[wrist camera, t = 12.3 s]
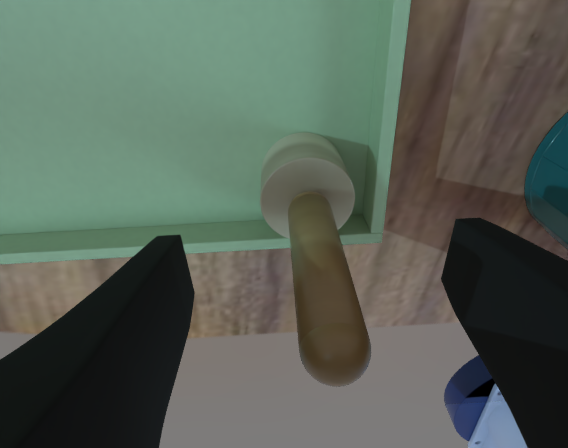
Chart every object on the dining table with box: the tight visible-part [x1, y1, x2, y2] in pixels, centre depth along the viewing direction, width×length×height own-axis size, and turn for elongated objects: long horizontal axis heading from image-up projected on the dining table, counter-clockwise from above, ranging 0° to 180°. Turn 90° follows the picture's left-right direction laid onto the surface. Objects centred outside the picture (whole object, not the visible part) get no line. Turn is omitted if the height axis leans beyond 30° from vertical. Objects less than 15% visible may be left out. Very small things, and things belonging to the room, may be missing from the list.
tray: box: [0, 0, 411, 264], centre depth 12 cm, size 13×25×2 cm, turn 93°
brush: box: [260, 132, 371, 387], centre depth 10 cm, size 3×3×9 cm
